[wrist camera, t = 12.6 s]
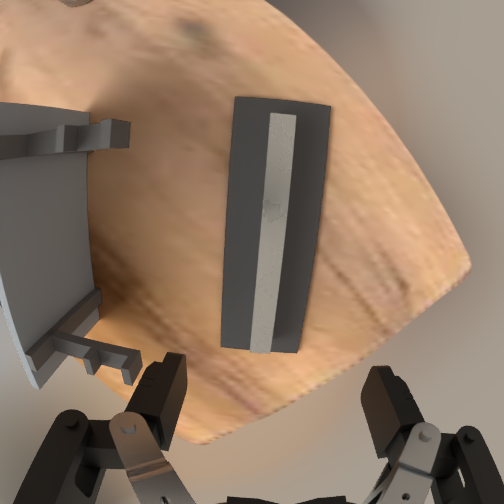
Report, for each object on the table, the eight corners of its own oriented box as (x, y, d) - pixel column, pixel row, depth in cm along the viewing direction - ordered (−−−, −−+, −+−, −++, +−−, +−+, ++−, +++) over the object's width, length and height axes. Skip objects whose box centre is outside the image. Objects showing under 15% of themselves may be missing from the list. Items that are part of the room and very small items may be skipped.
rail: (270, 117, 28) (270, 112, 25) (293, 119, 28) (296, 115, 25) (250, 337, 36) (249, 352, 33) (269, 339, 36) (270, 353, 33)
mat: (235, 97, 28) (235, 96, 27) (329, 106, 28) (330, 106, 27) (221, 344, 37) (220, 347, 37) (296, 351, 37) (297, 353, 37)
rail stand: (82, 113, 28) (-14, 104, 13) (175, 105, 28) (100, 69, 13) (93, 317, 37) (32, 386, 22) (173, 332, 37) (130, 422, 22)
